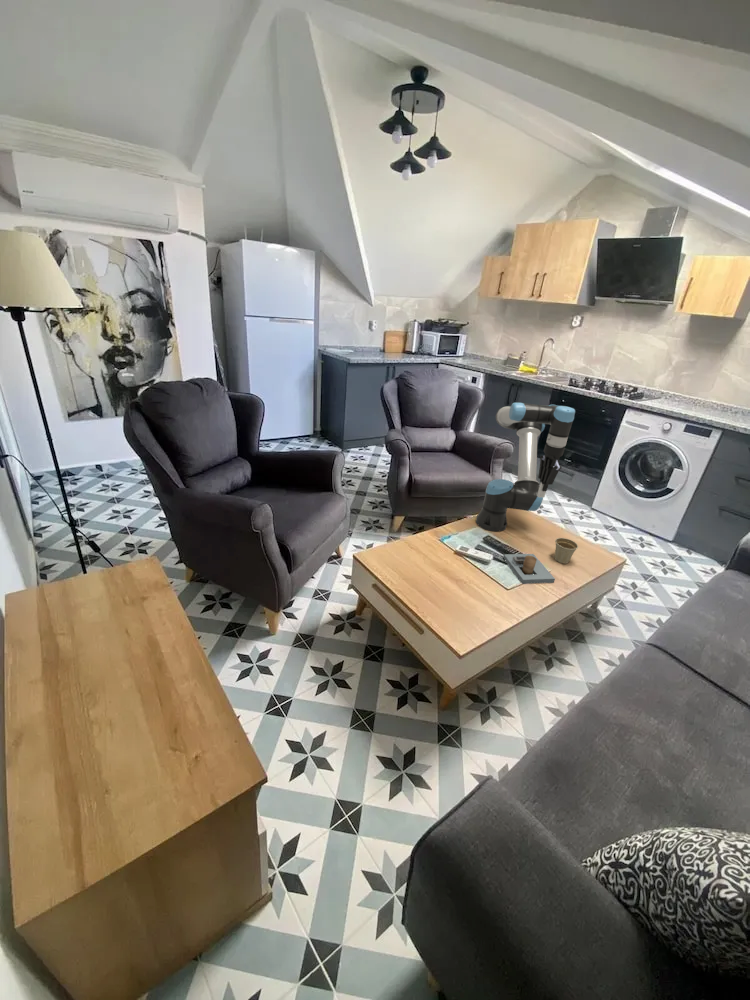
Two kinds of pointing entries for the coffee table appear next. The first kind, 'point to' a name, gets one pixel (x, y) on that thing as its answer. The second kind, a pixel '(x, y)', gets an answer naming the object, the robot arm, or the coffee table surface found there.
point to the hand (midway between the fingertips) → (540, 496)
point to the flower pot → (564, 549)
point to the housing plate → (539, 571)
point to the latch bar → (518, 561)
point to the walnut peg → (529, 565)
